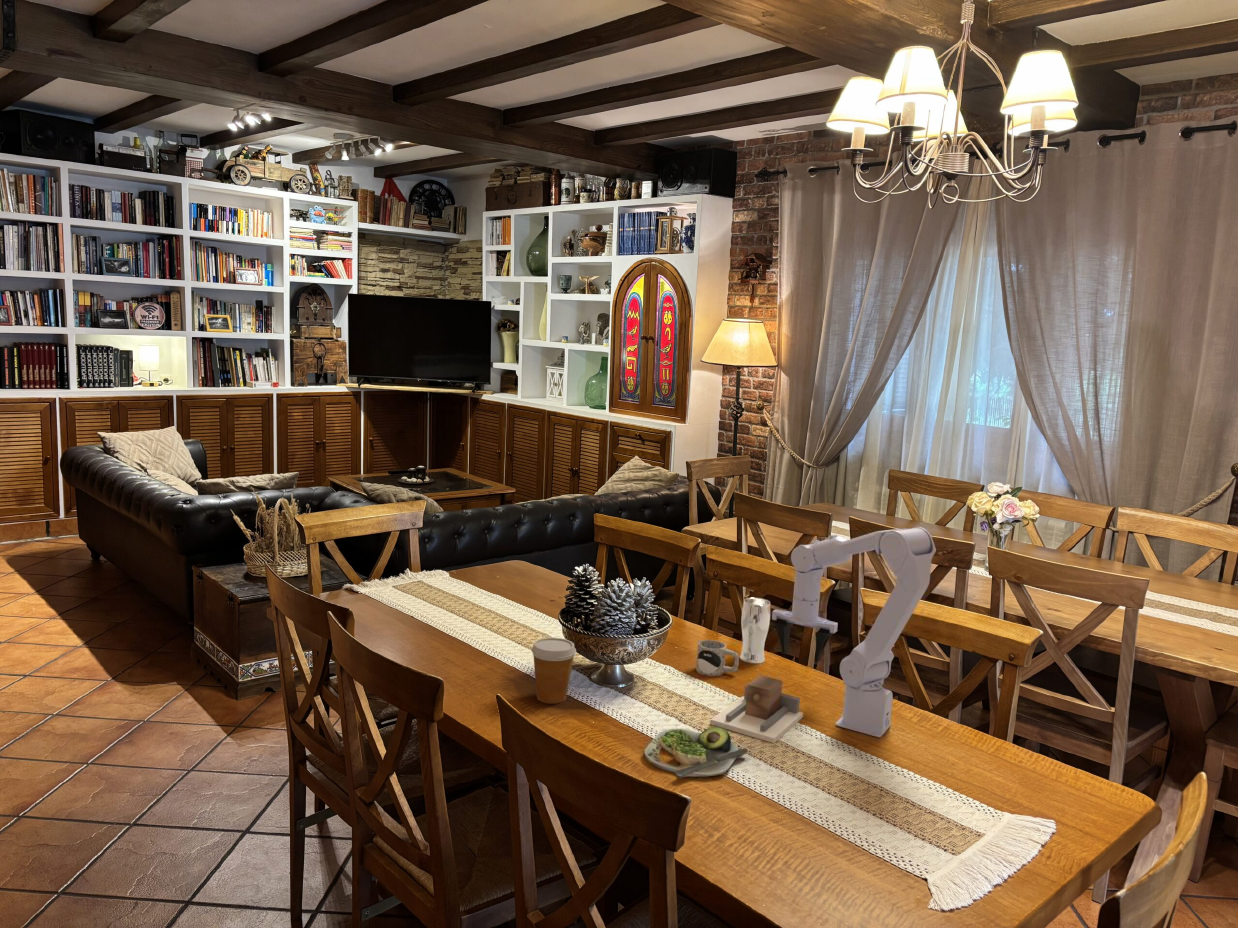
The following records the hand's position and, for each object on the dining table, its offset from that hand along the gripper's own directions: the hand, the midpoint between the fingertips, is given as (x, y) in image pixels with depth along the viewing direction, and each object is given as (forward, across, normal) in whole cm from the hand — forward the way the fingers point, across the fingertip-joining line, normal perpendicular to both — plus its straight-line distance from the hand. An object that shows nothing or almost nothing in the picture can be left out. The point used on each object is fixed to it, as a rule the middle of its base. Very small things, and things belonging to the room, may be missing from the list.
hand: (801, 656), depth 203 cm
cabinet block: (+8, -2, -15) cm, 18 cm away
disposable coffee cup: (+10, -42, -36) cm, 56 cm away
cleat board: (+9, -2, -18) cm, 20 cm away
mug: (+10, -21, +2) cm, 23 cm away
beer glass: (+10, -18, +16) cm, 26 cm away
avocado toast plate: (+10, -5, -41) cm, 42 cm away
